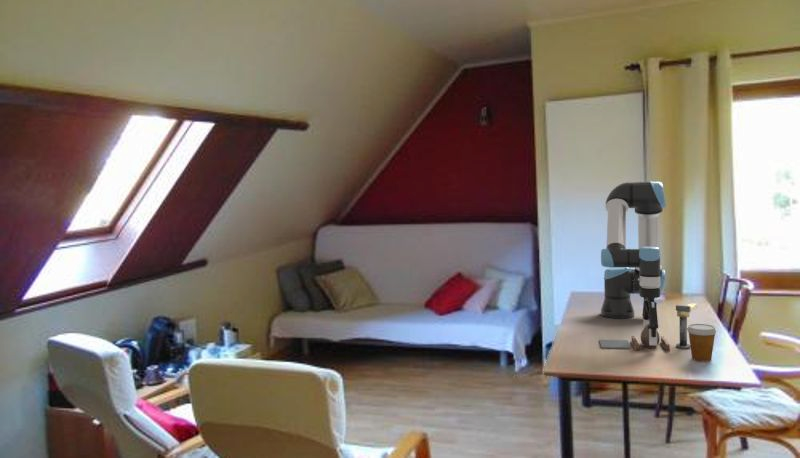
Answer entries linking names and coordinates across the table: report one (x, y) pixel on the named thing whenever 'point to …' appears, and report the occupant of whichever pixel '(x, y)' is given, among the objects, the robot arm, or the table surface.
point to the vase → (646, 337)
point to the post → (683, 334)
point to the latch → (685, 309)
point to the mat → (614, 344)
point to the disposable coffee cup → (701, 341)
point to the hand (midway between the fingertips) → (650, 340)
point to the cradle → (663, 341)
